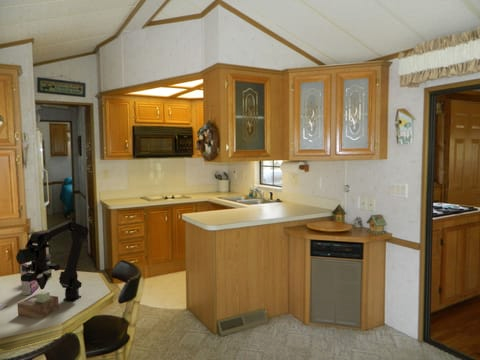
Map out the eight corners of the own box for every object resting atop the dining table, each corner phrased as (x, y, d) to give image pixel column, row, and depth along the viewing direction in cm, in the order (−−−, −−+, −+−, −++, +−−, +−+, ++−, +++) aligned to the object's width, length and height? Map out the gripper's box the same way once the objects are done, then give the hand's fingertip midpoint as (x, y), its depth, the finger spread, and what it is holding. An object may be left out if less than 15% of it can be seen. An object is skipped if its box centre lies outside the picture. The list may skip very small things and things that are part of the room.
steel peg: (33, 308, 188) (32, 297, 188) (40, 309, 187) (39, 298, 187) (27, 312, 184) (26, 300, 184) (33, 313, 183) (32, 301, 183)
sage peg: (43, 302, 186) (42, 290, 185) (50, 303, 185) (49, 291, 184) (37, 305, 182) (36, 294, 182) (43, 306, 181) (43, 294, 180)
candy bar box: (29, 288, 216) (27, 260, 214) (38, 287, 216) (37, 259, 215) (21, 295, 205) (19, 266, 203) (31, 295, 205) (29, 266, 204)
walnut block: (37, 305, 192) (37, 293, 192) (58, 308, 189) (58, 296, 188) (18, 315, 181) (17, 303, 180) (39, 318, 177) (39, 306, 177)
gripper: (42, 251, 193) (44, 280, 194) (10, 262, 175) (12, 294, 176) (59, 253, 189) (61, 282, 191) (29, 264, 172) (31, 297, 173)
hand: (42, 289), depth 183 cm, fingers closed
